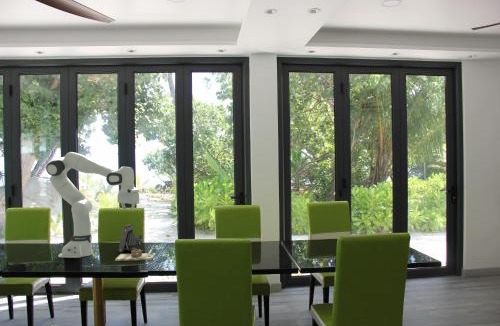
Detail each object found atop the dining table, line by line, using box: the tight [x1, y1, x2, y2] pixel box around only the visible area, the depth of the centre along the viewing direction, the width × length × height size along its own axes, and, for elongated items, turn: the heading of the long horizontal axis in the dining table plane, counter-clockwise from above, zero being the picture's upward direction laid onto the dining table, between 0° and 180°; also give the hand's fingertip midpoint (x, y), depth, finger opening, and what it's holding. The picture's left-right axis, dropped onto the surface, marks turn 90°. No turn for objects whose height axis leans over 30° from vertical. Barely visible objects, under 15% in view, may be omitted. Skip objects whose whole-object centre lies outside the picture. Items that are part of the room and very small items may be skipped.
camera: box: [118, 223, 145, 254], centre depth 279 cm, size 11×17×20 cm, turn 79°
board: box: [114, 252, 156, 262], centre depth 260 cm, size 24×14×2 cm, turn 95°
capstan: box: [130, 249, 143, 258], centre depth 257 cm, size 13×7×4 cm, turn 20°
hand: (128, 209), depth 263 cm, fingers open, 8 cm apart
